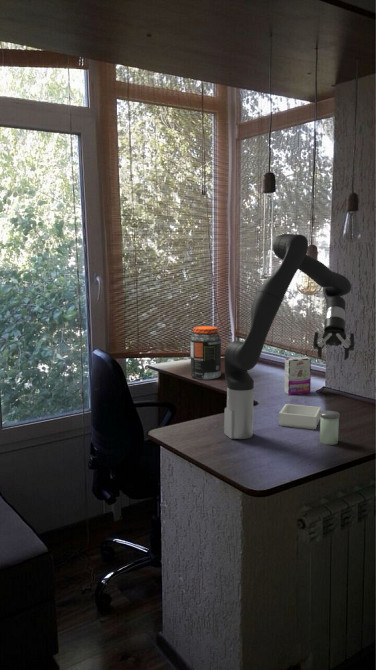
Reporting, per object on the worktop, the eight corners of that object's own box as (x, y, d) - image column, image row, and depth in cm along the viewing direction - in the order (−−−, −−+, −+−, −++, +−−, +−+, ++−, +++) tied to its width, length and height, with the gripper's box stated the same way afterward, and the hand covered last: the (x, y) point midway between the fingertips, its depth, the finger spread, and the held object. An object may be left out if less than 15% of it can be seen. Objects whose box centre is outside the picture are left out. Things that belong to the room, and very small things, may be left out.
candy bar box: (305, 391, 256) (306, 356, 253) (310, 393, 251) (311, 358, 249) (283, 392, 253) (284, 357, 250) (288, 395, 248) (289, 359, 246)
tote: (315, 429, 200) (316, 416, 199) (278, 425, 204) (278, 413, 204) (320, 419, 212) (320, 407, 212) (285, 415, 217) (285, 403, 216)
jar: (326, 445, 183) (327, 416, 182) (315, 439, 189) (316, 411, 188) (342, 443, 185) (343, 414, 184) (331, 437, 191) (332, 409, 190)
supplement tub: (221, 373, 291) (222, 325, 288) (220, 380, 276) (220, 329, 272) (191, 373, 293) (192, 325, 289) (188, 379, 278) (188, 329, 274)
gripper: (314, 315, 202) (312, 351, 193) (355, 316, 198) (354, 353, 189) (315, 327, 208) (312, 363, 199) (354, 328, 204) (353, 365, 195)
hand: (332, 358), depth 194 cm, fingers open, 8 cm apart
